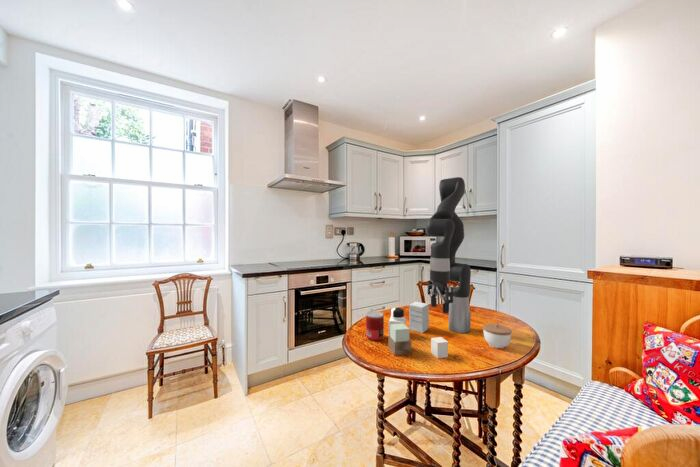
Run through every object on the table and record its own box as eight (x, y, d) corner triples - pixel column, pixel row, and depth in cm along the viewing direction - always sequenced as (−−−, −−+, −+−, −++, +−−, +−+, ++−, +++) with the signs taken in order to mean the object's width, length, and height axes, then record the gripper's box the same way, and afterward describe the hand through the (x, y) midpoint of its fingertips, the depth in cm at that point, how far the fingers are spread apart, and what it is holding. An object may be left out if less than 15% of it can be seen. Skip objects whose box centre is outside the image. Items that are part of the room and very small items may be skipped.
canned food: (382, 341, 113) (383, 317, 113) (365, 340, 115) (365, 316, 115) (384, 335, 121) (384, 311, 121) (367, 333, 122) (367, 310, 122)
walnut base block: (403, 346, 110) (403, 334, 110) (411, 353, 103) (411, 341, 103) (388, 347, 108) (388, 335, 108) (394, 355, 101) (394, 343, 101)
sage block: (403, 335, 109) (403, 323, 109) (409, 340, 103) (409, 328, 103) (389, 336, 108) (390, 324, 108) (395, 342, 102) (395, 329, 102)
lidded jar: (503, 353, 103) (503, 330, 103) (477, 343, 112) (477, 322, 112) (516, 347, 109) (516, 325, 109) (491, 338, 118) (491, 318, 118)
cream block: (441, 351, 105) (441, 337, 105) (447, 357, 100) (448, 341, 100) (431, 352, 104) (431, 338, 104) (437, 358, 99) (437, 342, 99)
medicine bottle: (405, 331, 125) (405, 307, 125) (403, 337, 118) (404, 311, 118) (391, 329, 127) (391, 305, 127) (388, 335, 120) (388, 310, 120)
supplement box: (415, 325, 134) (415, 301, 134) (429, 328, 129) (429, 303, 129) (408, 329, 128) (408, 304, 128) (422, 333, 123) (422, 307, 123)
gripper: (459, 271, 96) (459, 314, 96) (438, 266, 109) (437, 304, 110) (441, 272, 94) (441, 316, 94) (422, 266, 108) (421, 305, 108)
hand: (439, 309), depth 102 cm, fingers open, 8 cm apart
